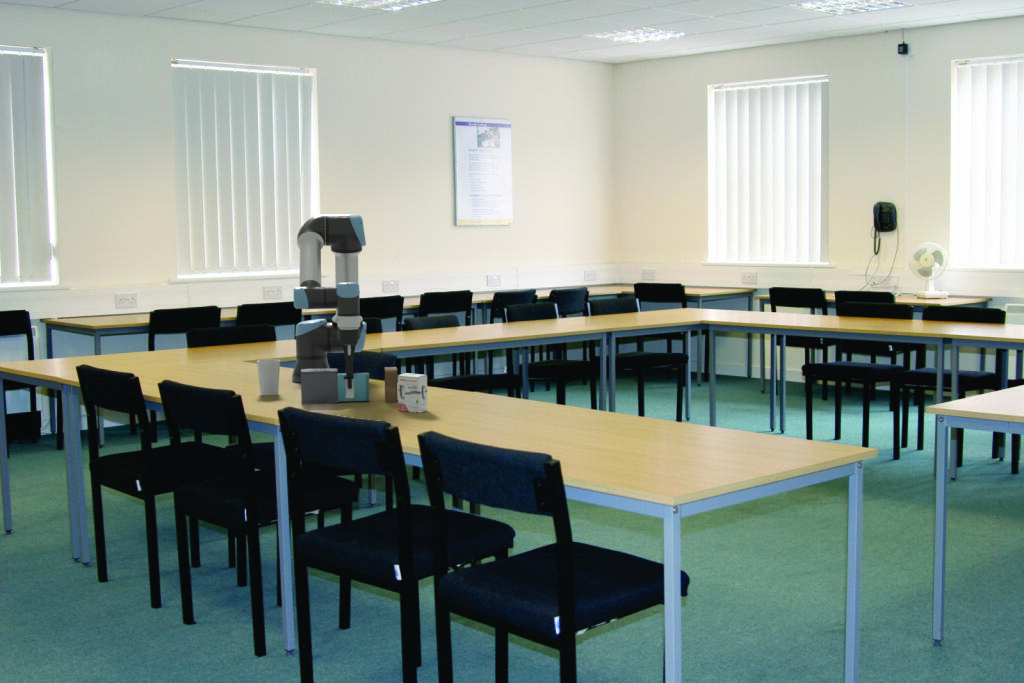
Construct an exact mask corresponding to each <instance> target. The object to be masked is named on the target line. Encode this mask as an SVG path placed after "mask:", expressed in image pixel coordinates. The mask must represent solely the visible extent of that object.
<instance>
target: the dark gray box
mask: <svg viewBox="0 0 1024 683" xmlns="http://www.w3.org/2000/svg"><path fill="white" fill-rule="evenodd" d="M337 373H338V367H336V368H335V367H334V368H333V367H331V368H325V369H301V383H300V386H301V387H300V390H301V392H300V393H301V395H300V396H301V397H300V398H301V401H300V402H301V405H323V404H325V405H326V404H328V405H329V404H339V401H338V381H337Z"/></svg>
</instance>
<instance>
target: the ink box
mask: <svg viewBox="0 0 1024 683" xmlns="http://www.w3.org/2000/svg"><path fill="white" fill-rule="evenodd" d="M397 393H398V402H397V403H398V411H399V412H406V411H409V412H408V413H416V412H418V414H421V413H425V412H428V405H429V404H428V375H426V374H421V373H420V374H419V373H410V372H405V373H401V374H397ZM424 411H425V412H424Z"/></svg>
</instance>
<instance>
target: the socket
mask: <svg viewBox="0 0 1024 683" xmlns="http://www.w3.org/2000/svg"><path fill="white" fill-rule="evenodd" d="M384 399H385V403H396V402H397V403H398V368H397V367H396V366H390V367H389V366H388V367H387V366H384Z"/></svg>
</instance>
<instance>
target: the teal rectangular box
mask: <svg viewBox="0 0 1024 683" xmlns="http://www.w3.org/2000/svg"><path fill="white" fill-rule="evenodd" d="M353 375H354V378H353V379H354V398H346V379H344V377H346V373H343V372H342V373H339V372H337V381H338V402H369V401H370V373H369V372H356V373H355V372H353Z"/></svg>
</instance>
